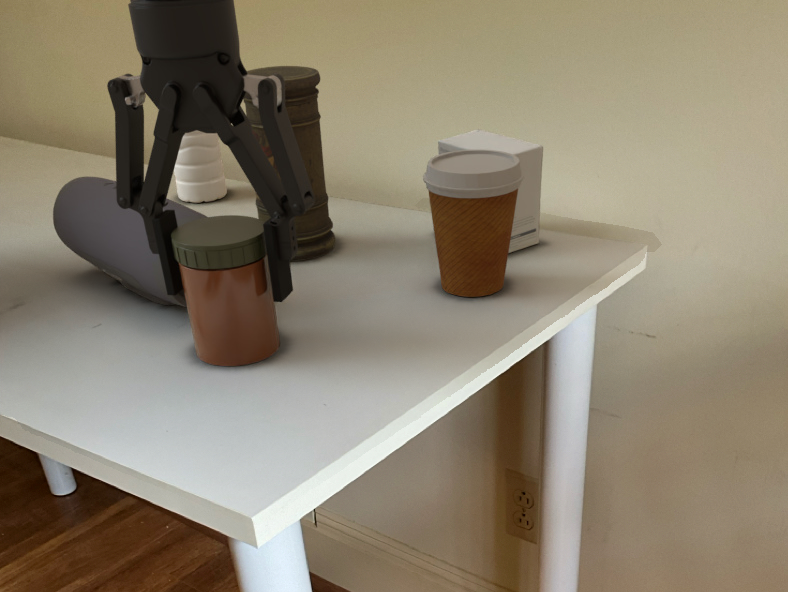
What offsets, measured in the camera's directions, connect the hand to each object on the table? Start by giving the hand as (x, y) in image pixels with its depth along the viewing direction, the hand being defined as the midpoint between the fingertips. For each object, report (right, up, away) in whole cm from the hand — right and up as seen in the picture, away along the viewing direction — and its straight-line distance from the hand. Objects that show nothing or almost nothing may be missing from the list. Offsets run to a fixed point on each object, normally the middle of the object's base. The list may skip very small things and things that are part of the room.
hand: (230, 292), depth 77 cm
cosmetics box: (+25, +13, +24) cm, 37 cm away
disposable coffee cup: (+22, +4, +13) cm, 26 cm away
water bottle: (-11, +25, +42) cm, 50 cm away
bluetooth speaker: (-11, +4, +15) cm, 19 cm away
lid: (0, +4, -3) cm, 5 cm away
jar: (0, -4, +3) cm, 5 cm away
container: (+3, +12, +24) cm, 27 cm away
